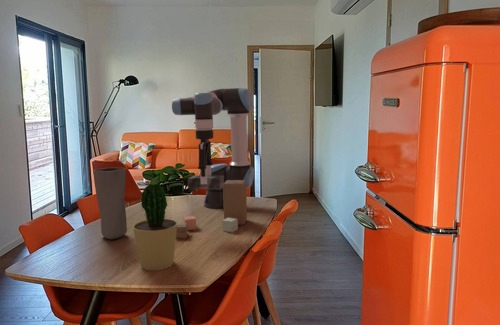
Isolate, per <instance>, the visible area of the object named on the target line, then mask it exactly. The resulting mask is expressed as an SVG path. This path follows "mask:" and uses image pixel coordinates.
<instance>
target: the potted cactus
mask: <svg viewBox="0 0 500 325" xmlns="http://www.w3.org/2000/svg"><path fill="white" fill-rule="evenodd" d="M160 184H161V183H149V184H147V185H146V186H144V187H143V189H142V188H141V189H142V191H141V193H140V197H139V200H140V202H141V209H142V212H144V213H145V214H143V215H144V216H145V217H146V219H145V220H141V221H138V222H136V223H134V224H133V225H132V229H133V233H134V234H133V235H134V239H135V244H136V248H137V253H138V257H139V263H140V267H141V269H143V270H145V271H161V270H165V269H168V267H169V268H170V267H172V266H173V265H174V259H175V252H176V250H175V249H176V241H177V240H176V239H177V238H176V232H177V224H178V221H177V220H175V219H171V218H167V215H166V214H167V211H166V210H168V206H170V205H169V204H168V201H169V199H167V195H168V194H166V192H165V189H163V186H162V185H160Z"/></svg>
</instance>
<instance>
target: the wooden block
mask: <svg viewBox="0 0 500 325" xmlns="http://www.w3.org/2000/svg"><path fill="white" fill-rule="evenodd" d="M247 200H248V199H247V188H246V181H245V180H227V181H226V182H225V183H224V187H223V201H224V208H223V220H224V219H226V218H235V219H238V226H244V225H245V224H246V222H247V220H248V219H247V218H248V212H247V211H248V208H247V207H248V206H247V203H248V202H247Z"/></svg>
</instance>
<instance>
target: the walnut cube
mask: <svg viewBox="0 0 500 325" xmlns="http://www.w3.org/2000/svg"><path fill="white" fill-rule="evenodd" d="M187 237H188V230H187V223H185V224H183V223H177V232H176V239H187Z"/></svg>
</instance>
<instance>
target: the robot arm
mask: <svg viewBox="0 0 500 325" xmlns="http://www.w3.org/2000/svg"><path fill="white" fill-rule="evenodd" d="M252 109H253V98H252V94H251V92H250V90H249V89H248V88H245V87H243V88H242V87H238V88H236V87H235V88H234V87H233V88H218V89H214V90H211V91H206V92H197V93H195V94H194V95H193V96H189V97H186V98H183V97H182V98H181V97H180V98H174V99H173V100H172V103H171V111H172V113H173V114H174V115H176V116H194V120H195V121H194V122H193V124H194V125H195V129H196V130H195V139H196V140H200V143H199V144H198V145H197V146H198V167H197V169H198V170H199V172H200V173H199V176H200V180H201V184H207V176H224V183H225V182H226V181H227V180H245V181H246V189H248V188H250V187H251V186H252V185H253V181H254V177H255V170H254V167H253V166H251V162H249V160H248V134H247V131H248V129H247V128H248V127H247V116H248V115H249V114H250V111H251V110H252ZM221 111H227V116H229V117H230V140H231V141H230V143H231V146H230V147H231V161H230V162H229V166H228V164H227V163H216V164H214V163H213V160H212V146H211V144H212V142H211V141H210V140H211V139H214V130H213V129H214V118H213V117H214V116H215V115H219V114H220V113H221ZM203 206H204V207H206V208H208V209H224V201H223V188H222V189H221V190H217V189H214V190H213V189H206V193H205V196H204V200H203Z"/></svg>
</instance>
